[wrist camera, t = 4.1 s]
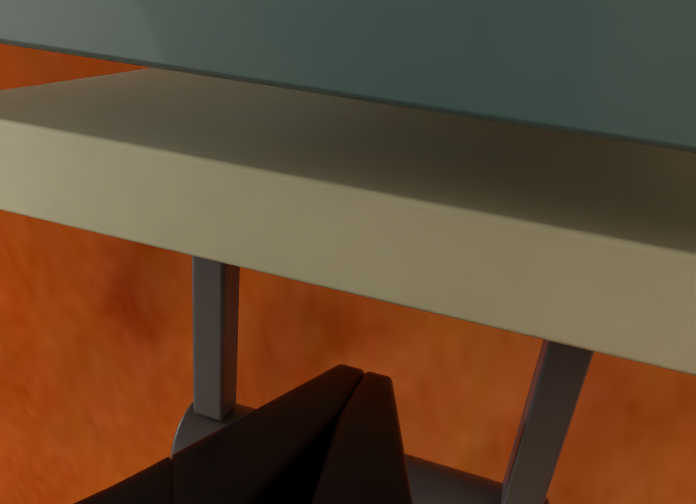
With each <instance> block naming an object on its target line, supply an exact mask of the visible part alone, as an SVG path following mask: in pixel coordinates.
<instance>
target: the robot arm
mask: <svg viewBox="0 0 696 504" xmlns="http://www.w3.org/2000/svg"><path fill="white" fill-rule="evenodd" d="M171 459H172V460H171ZM74 504H413V502H412V496H411V490H410V484H409V478H408V472H407V467H406V461H405V455H404V449H403V443H402V437H401V431H400V425H399V419H398V413H397V407H396V401H395V395H394V389H393V384H392V380H391V378H390V377H388V376H384V375H381V374H377V373H373V372H366V373H364V371H363V370H362V369H358V368H355V367H351V366H347V365H343V364H340V365H337V366H335V367H333V368H331V369H330V370H328V371H326V372H324V373H322V374H320V375H319V376H317V377H315V378H313V379H311V380H309V381H307V382H306V383H304V384H302V385H300V386H298V387H296V388H294V389H293V390H291V391H289V392H287V393H285V394H283V395H282V396H280V397H278V398H276V399H274V400H272V401H270V402H269V403H267V404H265V405H263V406H261V407H259V408H258V409H256V410H254V411H252V412H250V413H248V414H246V415H245V416H243V417H241V418H239V419H237V420H235V421H233V422H232V423H230V424H228V425H226V426H224V427H222V428H221V429H219V430H217V431H215V432H213V433H211V434H209V435H208V436H206V437H204V438H202V439H200V440H198V441H197V442H195V443H193V444H191V445H189V446H187V447H185V448H184V449H182V450H180V451H178V452H176V453H174V454H173V455H172V458H170V457H167V458H165V459H163V460H161V461H159V462H157V463H155V464H154V465H152V466H150V467H148V468H146V469H144V470H142V471H140V472H138V473H136V474H134V475H133V476H131V477H129V478H127V479H125V480H123V481H121V482H119V483H117V484H115V485H113V486H111V487H109V488H107V489H105V490H102V491H100V492H98V493H96V494H94V495H91V496H89V497H87V498H85V499H83V500H80V501H78V502H76V503H74Z"/></svg>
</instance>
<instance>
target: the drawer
mask: <svg viewBox="0 0 696 504" xmlns="http://www.w3.org/2000/svg"><path fill="white" fill-rule="evenodd" d="M0 210H4V211H8V212H13V213H17V214H21V215H25V216H29V217H33V218H38V219H42V220H46V221H50V222H54V223H59V224H63V225H67V226H71V227H75V228H80V229H84V230H88V231H92V232H96V233H100V234H105V235H109V236H113V237H117V238H121V239H126V240H130V241H134V242H138V243H142V244H146V245H151V246H155V247H159V248H163V249H167V250H172V251H176V252H180V253H184V254H188V255H192V301H193V396H194V401H193V402H192V403H191V405H190V406H189V407H188V409H187V410H186V412H185V413H184V415H183V417H182V419H181V421H180V423H179V425H178V428H177V430H176V433H175V437H174V440H173V444H172V450H171V458H172V455H173V454H174V453H176V452H178V451H180V450H182V449H184V448H185V447H187V446H189V445H191V444H193V443H195V442H197V441H198V440H200V439H202V438H204V437H206V436H208V435H209V434H211V433H213V432H215V431H217V430H219V429H221V428H222V427H224V426H226V425H228V424H230V423H232V422H233V421H235V420H237V419H239V418H241V417H243V416H245V415H246V414H248V413H250V412H252V411H254V410H256V409H253V408H250V407H247V406H243V405H240V404H237V403H236V381H237V344H238V308H239V271H240V267H243V268H247V269H251V270H255V271H259V272H264V273H268V274H272V275H276V276H280V277H285V278H289V279H293V280H297V281H301V282H305V283H310V284H314V285H318V286H322V287H326V288H331V289H335V290H339V291H343V292H347V293H351V294H356V295H360V296H364V297H368V298H372V299H377V300H381V301H385V302H389V303H393V304H397V305H402V306H406V307H410V308H414V309H418V310H423V311H427V312H431V313H435V314H439V315H443V316H448V317H452V318H456V319H460V320H464V321H469V322H473V323H477V324H481V325H485V326H490V327H494V328H498V329H502V330H506V331H510V332H515V333H519V334H523V335H527V336H531V337H536V338H540V339H544V340H543V343H542V347H541V350H540V354H539V357H538V361H537V364H536V368H535V371H534V375H533V378H532V382H531V385H530V389H529V392H528V396H527V399H526V403H525V406H524V410H523V413H522V417H521V420H520V424H519V427H518V431H517V434H516V438H515V441H514V445H513V448H512V452H511V455H510V459H509V462H508V466H507V469H506V473H505V476H504V480H503V483H501V482H498V481H494V480H491V479H488V478H484V477H481V476H477V475H474V474H471V473H467V472H464V471H461V470H457V469H454V468H451V467H447V466H444V465H441V464H437V463H434V462H431V461H427V460H424V459H421V458H417V457H414V456H411V455H407V454H404V455H405V461H406V467H407V472H408V478H409V484H410V490H411V496H412V502H413V504H549V500H548V498H547V497H546V495H547V492H548V489H549V486H550V483H551V480H552V477H553V474H554V471H555V468H556V465H557V462H558V459H559V456H560V453H561V450H562V447H563V444H564V441H565V438H566V435H567V432H568V428H569V425H570V422H571V419H572V416H573V413H574V410H575V407H576V404H577V401H578V398H579V395H580V392H581V389H582V386H583V383H584V380H585V377H586V374H587V371H588V368H589V365H590V362H591V359H592V356H593V353H594V352H598V353H602V354H607V355H611V356H615V357H619V358H623V359H628V360H632V361H636V362H640V363H644V364H649V365H653V366H657V367H661V368H665V369H669V370H674V371H678V372H682V373H686V374H690V375H695V376H696V153H691V152H684V151H678V150H672V149H665V148H659V147H653V146H646V145H640V144H634V143H627V142H621V141H615V140H608V139H602V138H596V137H589V136H583V135H577V134H570V133H564V132H558V131H551V130H545V129H539V128H532V127H526V126H520V125H513V124H507V123H501V122H494V121H488V120H482V119H475V118H469V117H463V116H456V115H450V114H444V113H437V112H431V111H425V110H418V109H412V108H406V107H399V106H393V105H387V104H380V103H374V102H368V101H361V100H355V99H349V98H342V97H336V96H330V95H323V94H317V93H311V92H305V91H298V90H292V89H286V88H279V87H273V86H267V85H260V84H254V83H248V82H241V81H235V80H229V79H222V78H216V77H210V76H203V75H197V74H191V73H184V72H178V71H172V70H165V69H159V68H148V69H142V70H135V71H128V72H121V73H115V74H108V75H101V76H94V77H88V78H81V79H74V80H67V81H61V82H54V83H47V84H40V85H34V86H27V87H20V88H13V89H7V90H0ZM171 460H172V459H171Z"/></svg>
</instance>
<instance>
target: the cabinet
mask: <svg viewBox="0 0 696 504" xmlns="http://www.w3.org/2000/svg"><path fill="white" fill-rule="evenodd" d="M0 43H1V44H7V45H13V46H20V47H26V48H32V49H39V50H45V51H51V52H58V53H64V54H70V55H77V56H83V57H89V58H96V59H102V60H108V61H115V62H121V63H127V64H134V65H140V66H146V67H153V68H159V69H165V70H172V71H178V72H184V73H191V74H197V75H203V76H210V77H216V78H222V79H229V80H235V81H241V82H248V83H254V84H260V85H267V86H273V87H279V88H286V89H292V90H298V91H305V92H311V93H317V94H323V95H330V96H336V97H342V98H349V99H355V100H361V101H368V102H374V103H380V104H387V105H393V106H399V107H406V108H412V109H418V110H425V111H431V112H437V113H444V114H450V115H456V116H463V117H469V118H475V119H482V120H488V121H494V122H501V123H507V124H513V125H520V126H526V127H532V128H539V129H545V130H551V131H558V132H564V133H570V134H577V135H583V136H589V137H596V138H602V139H608V140H615V141H621V142H627V143H634V144H640V145H646V146H653V147H659V148H665V149H672V150H678V151H684V152H691V153H696V0H0Z"/></svg>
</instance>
